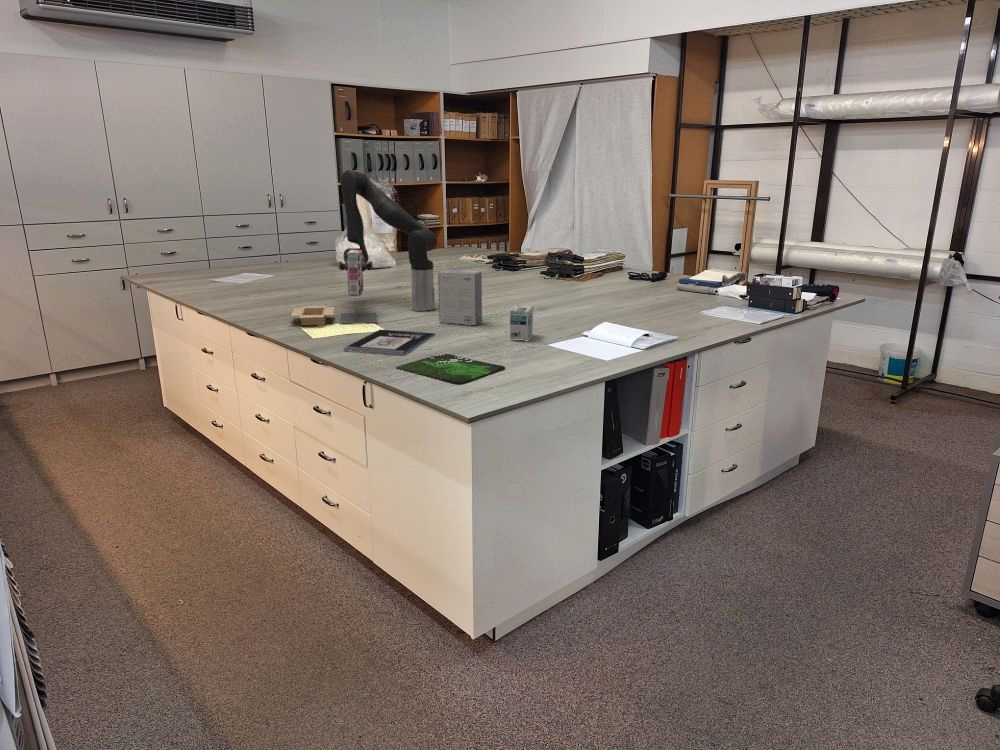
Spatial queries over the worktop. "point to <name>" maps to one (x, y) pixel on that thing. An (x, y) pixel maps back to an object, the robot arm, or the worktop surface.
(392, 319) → the worktop surface
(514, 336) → the light bulb box
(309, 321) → the carton
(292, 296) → the worktop surface
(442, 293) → the hard drive box
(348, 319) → the mat
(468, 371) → the mouse mat
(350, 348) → the sketchbook
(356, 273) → the candy bar box
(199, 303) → the worktop surface
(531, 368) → the worktop surface
